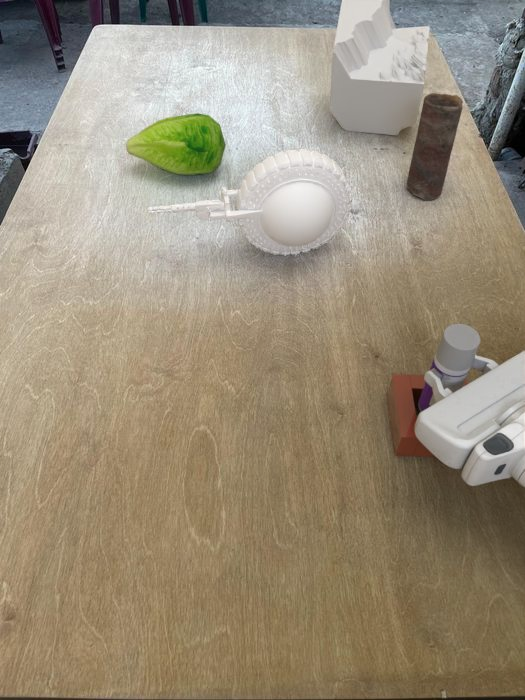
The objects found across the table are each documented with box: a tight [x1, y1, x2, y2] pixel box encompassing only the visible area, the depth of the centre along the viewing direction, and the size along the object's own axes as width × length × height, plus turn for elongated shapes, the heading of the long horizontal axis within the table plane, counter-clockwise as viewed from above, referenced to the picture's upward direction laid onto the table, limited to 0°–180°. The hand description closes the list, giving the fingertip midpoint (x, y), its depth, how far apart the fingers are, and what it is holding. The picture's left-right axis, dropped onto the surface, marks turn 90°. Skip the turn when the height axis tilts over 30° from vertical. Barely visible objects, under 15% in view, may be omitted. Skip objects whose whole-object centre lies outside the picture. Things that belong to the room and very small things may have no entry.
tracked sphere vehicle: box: [147, 148, 353, 257], centre depth 108 cm, size 35×14×20 cm, turn 100°
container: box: [418, 323, 481, 413], centre depth 82 cm, size 5×5×15 cm
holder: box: [386, 373, 469, 458], centre depth 90 cm, size 11×11×5 cm
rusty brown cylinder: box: [406, 92, 464, 202], centre depth 121 cm, size 8×7×20 cm
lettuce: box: [125, 112, 226, 176], centre depth 128 cm, size 14×20×12 cm
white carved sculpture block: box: [328, 0, 431, 136], centre depth 137 cm, size 20×16×25 cm
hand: (445, 363), depth 82 cm, fingers closed on container, 4 cm apart
